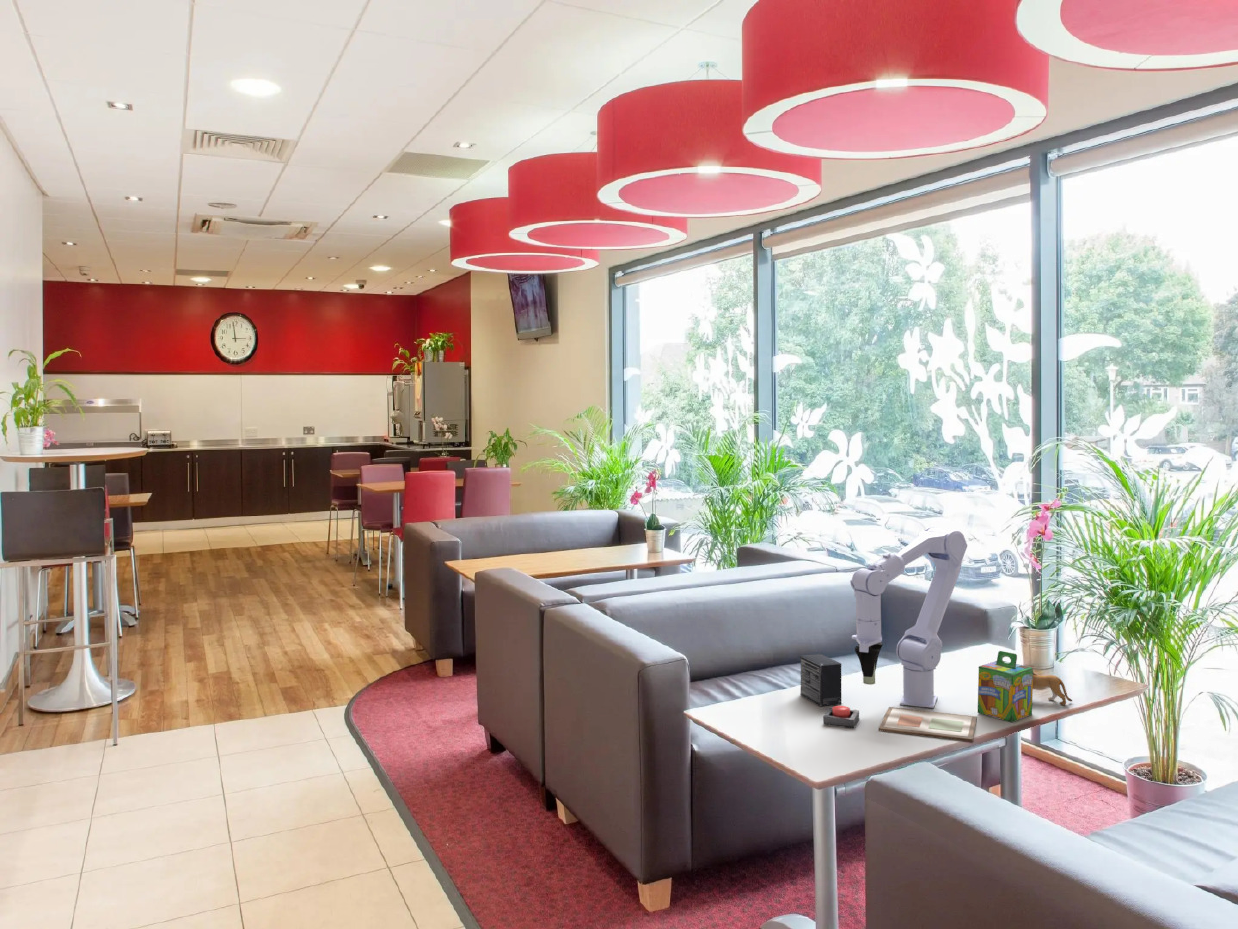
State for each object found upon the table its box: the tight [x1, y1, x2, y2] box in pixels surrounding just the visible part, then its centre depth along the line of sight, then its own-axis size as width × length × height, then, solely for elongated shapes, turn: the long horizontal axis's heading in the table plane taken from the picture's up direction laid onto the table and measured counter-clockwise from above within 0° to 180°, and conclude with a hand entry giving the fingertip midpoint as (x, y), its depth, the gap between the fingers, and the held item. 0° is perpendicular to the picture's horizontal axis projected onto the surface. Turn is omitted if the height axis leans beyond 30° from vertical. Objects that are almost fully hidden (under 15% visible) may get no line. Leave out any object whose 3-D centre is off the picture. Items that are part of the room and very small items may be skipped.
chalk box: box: [977, 650, 1034, 723], centre depth 216 cm, size 9×9×15 cm
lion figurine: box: [1033, 672, 1073, 706], centre depth 225 cm, size 15×5×9 cm, turn 74°
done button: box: [832, 705, 851, 718], centre depth 214 cm, size 4×4×2 cm
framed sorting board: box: [878, 706, 977, 743], centre depth 211 cm, size 16×20×1 cm
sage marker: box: [862, 666, 876, 686], centre depth 220 cm, size 3×3×8 cm
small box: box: [799, 653, 842, 707], centre depth 231 cm, size 11×6×10 cm, turn 18°
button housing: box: [822, 707, 860, 729], centre depth 214 cm, size 7×7×2 cm
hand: (869, 674), depth 220 cm, fingers closed on sage marker, 3 cm apart
